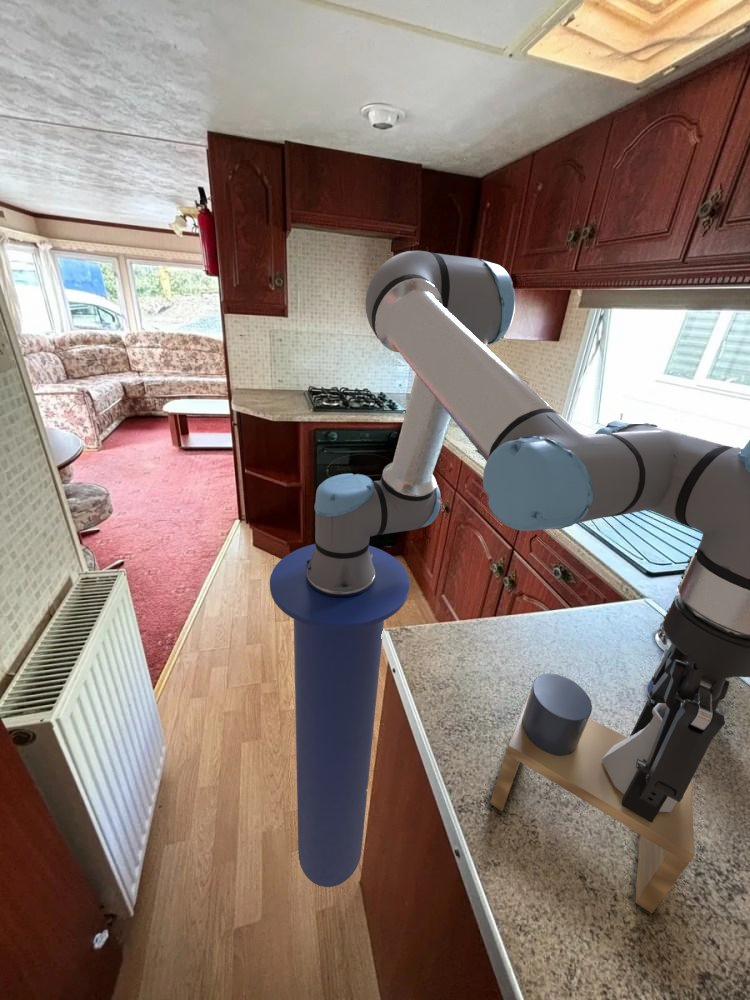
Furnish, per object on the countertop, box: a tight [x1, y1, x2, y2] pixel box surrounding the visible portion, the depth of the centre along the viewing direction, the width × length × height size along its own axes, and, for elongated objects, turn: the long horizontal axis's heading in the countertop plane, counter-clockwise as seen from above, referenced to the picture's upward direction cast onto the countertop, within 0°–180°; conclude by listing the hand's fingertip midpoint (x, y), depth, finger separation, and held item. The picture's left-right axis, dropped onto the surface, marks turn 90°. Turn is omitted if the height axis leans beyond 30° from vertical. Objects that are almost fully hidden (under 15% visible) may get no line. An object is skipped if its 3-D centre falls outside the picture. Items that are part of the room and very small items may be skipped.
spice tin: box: [522, 673, 593, 756], centre depth 48 cm, size 6×6×6 cm
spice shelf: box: [490, 689, 696, 914], centre depth 49 cm, size 18×10×12 cm, turn 56°
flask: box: [601, 703, 677, 812], centre depth 42 cm, size 7×7×10 cm
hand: (639, 776), depth 44 cm, fingers closed on flask, 8 cm apart
